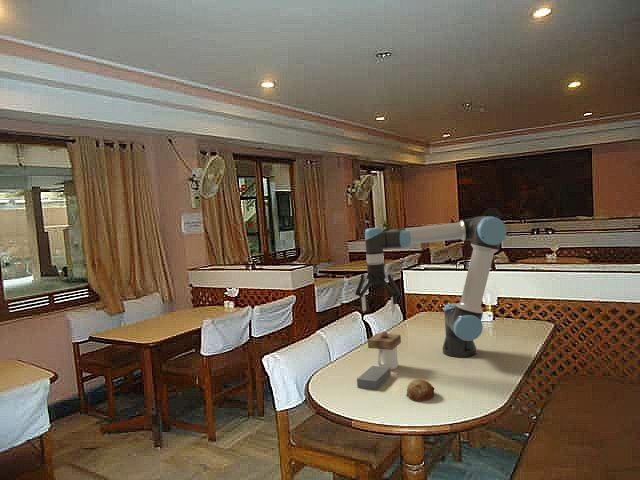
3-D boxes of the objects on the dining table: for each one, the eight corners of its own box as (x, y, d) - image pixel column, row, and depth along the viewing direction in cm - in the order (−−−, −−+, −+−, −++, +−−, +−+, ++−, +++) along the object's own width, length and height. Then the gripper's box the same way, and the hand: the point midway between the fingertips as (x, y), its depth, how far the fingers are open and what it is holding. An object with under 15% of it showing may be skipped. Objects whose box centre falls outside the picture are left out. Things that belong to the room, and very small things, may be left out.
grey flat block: (390, 375, 197) (390, 367, 197) (376, 390, 183) (375, 381, 183) (372, 373, 201) (372, 365, 201) (357, 387, 187) (356, 378, 187)
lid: (400, 342, 208) (400, 330, 208) (392, 350, 198) (391, 337, 198) (377, 340, 213) (376, 328, 213) (368, 347, 204) (367, 335, 203)
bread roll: (408, 401, 180) (399, 383, 179) (432, 387, 180) (422, 369, 179) (416, 412, 170) (405, 393, 169) (440, 397, 170) (430, 378, 170)
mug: (386, 374, 199) (385, 350, 199) (370, 370, 205) (369, 347, 204) (401, 365, 208) (400, 342, 208) (385, 362, 214) (384, 340, 213)
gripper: (405, 261, 204) (408, 310, 205) (352, 262, 215) (355, 308, 217) (400, 264, 197) (403, 314, 199) (345, 264, 209) (349, 312, 210)
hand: (378, 311), depth 208 cm, fingers open, 13 cm apart
